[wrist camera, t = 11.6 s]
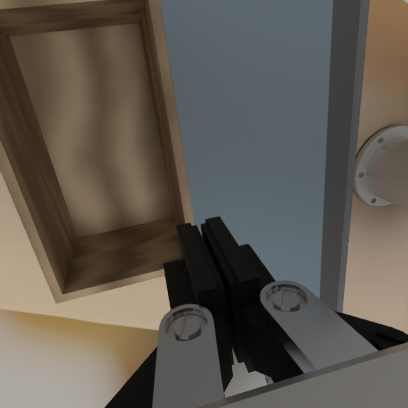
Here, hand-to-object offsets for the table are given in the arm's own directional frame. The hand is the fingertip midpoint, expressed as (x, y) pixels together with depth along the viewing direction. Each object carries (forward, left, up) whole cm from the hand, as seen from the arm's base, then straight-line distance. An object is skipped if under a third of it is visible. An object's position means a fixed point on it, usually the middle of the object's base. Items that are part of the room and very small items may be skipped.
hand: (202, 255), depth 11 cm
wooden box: (+5, 0, -28) cm, 28 cm away
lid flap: (-5, 0, -9) cm, 11 cm away
